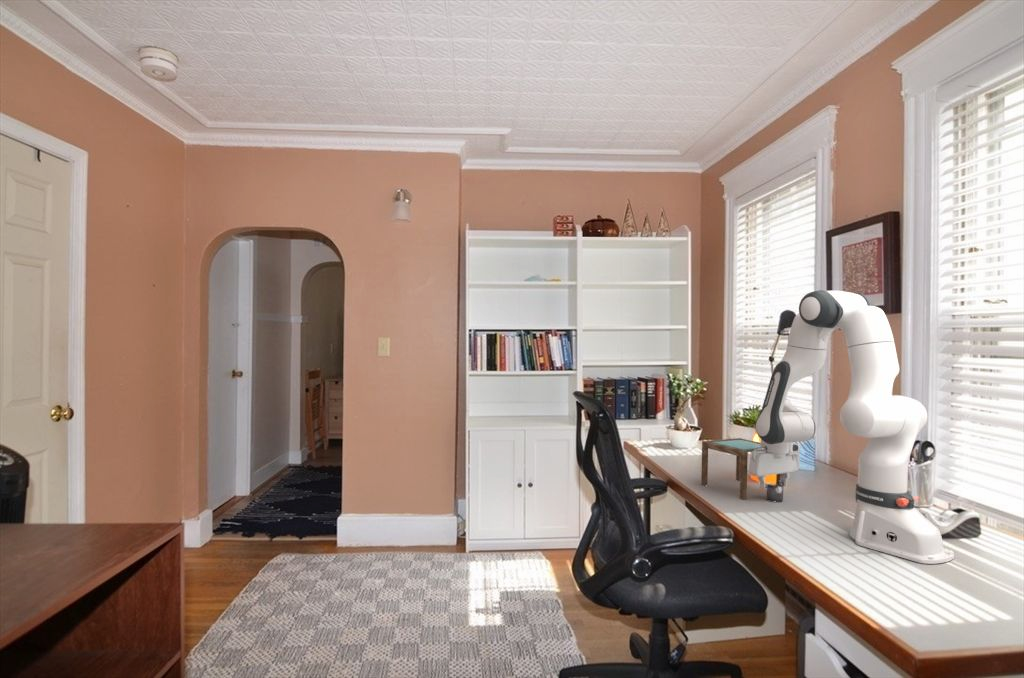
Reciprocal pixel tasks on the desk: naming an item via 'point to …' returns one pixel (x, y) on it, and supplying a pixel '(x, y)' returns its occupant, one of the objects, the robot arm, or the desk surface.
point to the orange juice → (768, 478)
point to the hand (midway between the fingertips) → (773, 486)
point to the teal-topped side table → (740, 463)
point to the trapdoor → (739, 445)
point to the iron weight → (775, 492)
